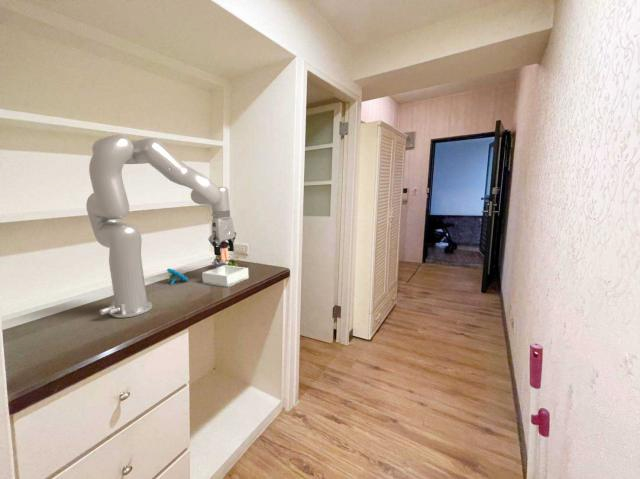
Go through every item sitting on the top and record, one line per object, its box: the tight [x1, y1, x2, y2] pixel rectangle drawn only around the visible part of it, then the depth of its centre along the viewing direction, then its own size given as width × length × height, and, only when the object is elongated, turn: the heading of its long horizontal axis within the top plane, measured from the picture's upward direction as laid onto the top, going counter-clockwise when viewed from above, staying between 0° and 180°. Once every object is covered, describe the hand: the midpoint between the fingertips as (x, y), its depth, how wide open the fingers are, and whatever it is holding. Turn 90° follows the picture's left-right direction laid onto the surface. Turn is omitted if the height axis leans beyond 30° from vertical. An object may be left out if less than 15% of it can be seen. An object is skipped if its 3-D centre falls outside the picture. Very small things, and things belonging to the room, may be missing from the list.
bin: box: [201, 264, 250, 288], centre depth 140 cm, size 14×14×5 cm
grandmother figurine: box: [219, 240, 230, 263], centre depth 138 cm, size 8×4×13 cm, turn 170°
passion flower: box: [211, 253, 240, 268], centre depth 160 cm, size 11×11×12 cm
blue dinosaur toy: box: [166, 268, 189, 286], centre depth 138 cm, size 11×6×10 cm
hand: (224, 252), depth 138 cm, fingers closed on grandmother figurine, 7 cm apart
